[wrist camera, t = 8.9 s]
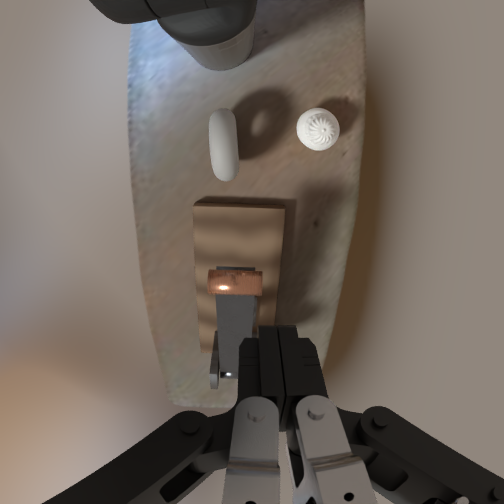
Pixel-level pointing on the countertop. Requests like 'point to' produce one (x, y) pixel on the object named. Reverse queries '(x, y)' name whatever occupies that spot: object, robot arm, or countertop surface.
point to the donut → (224, 144)
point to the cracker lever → (233, 311)
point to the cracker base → (236, 261)
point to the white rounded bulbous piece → (318, 129)
